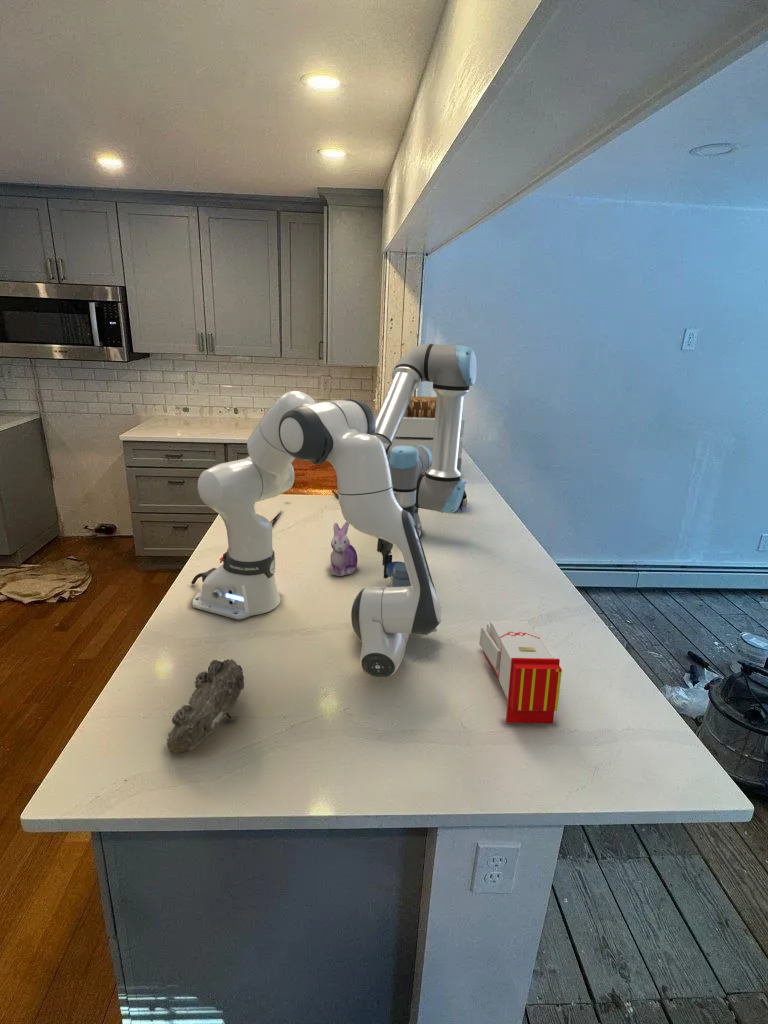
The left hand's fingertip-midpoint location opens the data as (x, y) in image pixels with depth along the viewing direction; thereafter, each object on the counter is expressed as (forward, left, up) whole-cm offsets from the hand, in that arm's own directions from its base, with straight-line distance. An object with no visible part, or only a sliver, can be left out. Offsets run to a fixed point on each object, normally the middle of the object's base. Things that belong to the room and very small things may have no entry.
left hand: (401, 598), depth 142 cm
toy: (+28, -19, -6) cm, 34 cm away
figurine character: (+8, +93, -6) cm, 94 cm away
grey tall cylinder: (0, -1, -6) cm, 6 cm away
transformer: (-13, +138, -6) cm, 139 cm away
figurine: (-21, +24, -6) cm, 33 cm away
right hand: (-4, +18, -4) cm, 19 cm away
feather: (-56, +64, -6) cm, 85 cm away
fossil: (-29, -44, -6) cm, 53 cm away
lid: (-4, +18, 0) cm, 19 cm away
